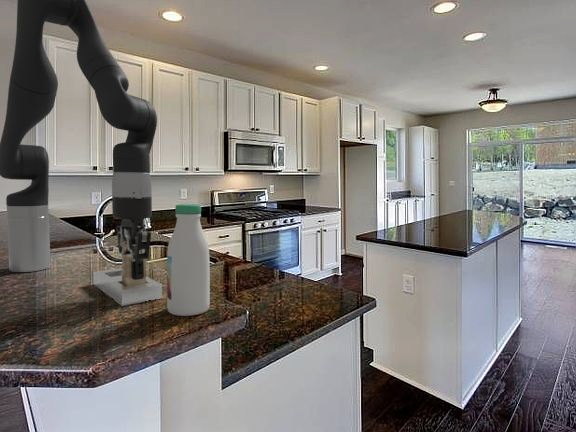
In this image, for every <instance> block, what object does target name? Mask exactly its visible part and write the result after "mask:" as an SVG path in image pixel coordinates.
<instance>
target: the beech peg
mask: <svg viewBox="0 0 576 432" xmlns="http://www.w3.org/2000/svg"><path fill="white" fill-rule="evenodd" d="M139 254H140V252H139ZM131 262H132V261H131V254H126V255H121V268H122V285H123V286H125V287H127V286H134V285H140V284H146V276H147V259H145V260H144V277H143V279H138V280H134V279H132V271H131Z"/></svg>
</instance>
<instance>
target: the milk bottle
mask: <svg viewBox="0 0 576 432" xmlns="http://www.w3.org/2000/svg"><path fill="white" fill-rule="evenodd" d="M174 209H175V217H176V224H175V227H174V230H173V233H172V235H171V236H170V239H169V242H168V246H167V251H166V252H167V257H166V258H167V259H166V285H167V286H166V292H167V293H166V298H167V299H166V300H167V302H166V303H167V305H166V306H167V311H168V313H169V314H171V315H173V316H179V317H189V316H190V317H191V316H196V315H201V314H203V313H206V312H207V311H208V310H209V308H210V304H211V303H210V301H211V300H210V299H211V298H210V293H211V292H210V291H211V289H210V287H211V285H210V283H211V281H210V278H211V277H210V276H211V275H210V271H211V270H210V269H211V268H210V267H211V266H210V248H209V247H210V245H209V241H208V240H207V239H208V238H207V237H206V235H205V232H204V230H203V228H202V223H201V217H202V214H201V213H202V206H201V204H196V203H195V204H194V203H193V204H190V203H185V204H176V205H175V208H174Z"/></svg>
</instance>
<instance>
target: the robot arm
mask: <svg viewBox="0 0 576 432" xmlns="http://www.w3.org/2000/svg"><path fill="white" fill-rule="evenodd" d="M16 6H17V8H16V32H15V33H16V34H15V45H14V52H13V59H12V65H11V72H10V76H9V77H10V78H9V83H8V84H9V85H8V92H7V100H6V101H7V103H6V113H5V119H4V126H3V129H2V133H1V138H0V177H1V178H3V179H5V180H14V181H15V180H17V181H19V180H22V181H23V180H24V181H29V180H30V181H31V183H30V185H29V186H27V187H26V188H24V189H22V190H19V191H16V192H13V193H12V192H11V193H9V194H7V196H6V199H5V201H6V202H5V204H6V221H7V224H6V225H7V246H8V269H9V272H12V273H29V272H37V271H42V270H47V269H50V268H51V242H50V217H49V213H50V212H49V179H50V178H49V176H50V159H49V153H48V151H47V149H46V148H45V147H44V146H42V145H35V144H22V141H23V139H24V138H25V136H26V135H27V134H28V132H30V131H31V130H32V129H33V128H34V127H35V126H37V125H38V124H39V123H40V122H42V121H43V120H44V119H45V118H46V117H47V116H48V115H49V114H50V113H51V112H52V110H53V108H54V106H55V103H56V97H57V92H58V88H59V87H58V86H59V81H58V75H57V74H56V72H55V70H54V67H53V65H52V63H51V61H50V59H49V57H48V55H47V52H46V50H45V47H44V43H43V41H44V40H43V31H44V26H45V23H50V24H55V25H59V26H67V27H68V28H69V29H70V30H71V31H72V32H73V33H74V34H75V35H76V36H77V38H78V43H77V48H76V60H77V64H78V66H79V69H80V70H81V73H82V74H83V76H84V77H85V79H86V80H87V82H88V83H89V85H90V86H91V88H92V89H93V91H94V94H95V99H96V102H97V105H98V107H99V110H100V111H99V112H100V113H101V116H102V117H103V119H104V120H105V122H106V123H107V124H109V125H110V126H111V127H112V128H115V129H116V130H121V131H125V132H126V131H127V136H126V139H125V142H119V143H116V144H115V145H114V147H113V149H112V180H111V201H112V202H111V206H112V209H111V210H112V218H113V219H116V220H121V225H117V226H116V238H117V244H118V252H119V254H121V256H122V255H126V254H131V261H132V262H131V271H132V279H134V280H138V279H143V277H144V260H145V259H146V260H148V259H149V257H150V249H151V239H152V233H151V231H150V230H148V231H147V229H146V226H145V221H144V220H146V219H149V218H151V217H152V216H153V215H152V214H153V213H152V212H153V211H152V210H153V208H152V206H153V205H152V202H153V201H152V194H153V193H152V179H151V157H150V154H151V150H152V147H153V144H154V138H155V134H156V130H157V126H158V116H157V112H156V109H155V107H154V105H153V104H152V103H151V102H150V101H148V100H146V99H143V98H141V97H138V96H134V95H131V94H129V93H128V92H127V91H128V90H129V86H130V85H129V83H130V82H129V79H128V77H127V75H126V73H125V72H124V70H123V69H122V68H121V66H120V64H119V62H118V61H117V60H116V59H115V57H114V55H113V54H112V53H111V51H110V49H109V48H108V46H107V45H106V44H107V43H106V42H105V41H104V38H103V37H102V33H101V31H100V30H99V27H98V25H97V22H96V20H95V17H94V16H93V14H92V13H93V12H91V10H90V6H89V5H88V3H87V0H17V5H16ZM139 253H140V254H139Z"/></svg>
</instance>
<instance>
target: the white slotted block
mask: <svg viewBox="0 0 576 432" xmlns="http://www.w3.org/2000/svg"><path fill="white" fill-rule="evenodd" d="M93 285H94V286H95V287H96V288H98V289H99V291H100V290H101V292H103V293H104V294H105V295H107V296H108V297H109V298H110V299H112V298H113V299H114V302H116V303H117V304H119V305H120V306H121V307H124V306H129V305H130V306H131V305H135V304H140V303H145V301H146V302H150V301H149V300H151V301H155V299H156V300H161V298H162V299H163V284H162V283H161V282H159V281H156V280H155V279H152V278H151V277H149V276H147V275H146V284H140V285H134V286H127V287H125V286H123V285H122V267H121V268H113V269H105V270H104V269H103V270H97V271H95V270H94V271H93ZM113 299H112V300H113Z"/></svg>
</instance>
